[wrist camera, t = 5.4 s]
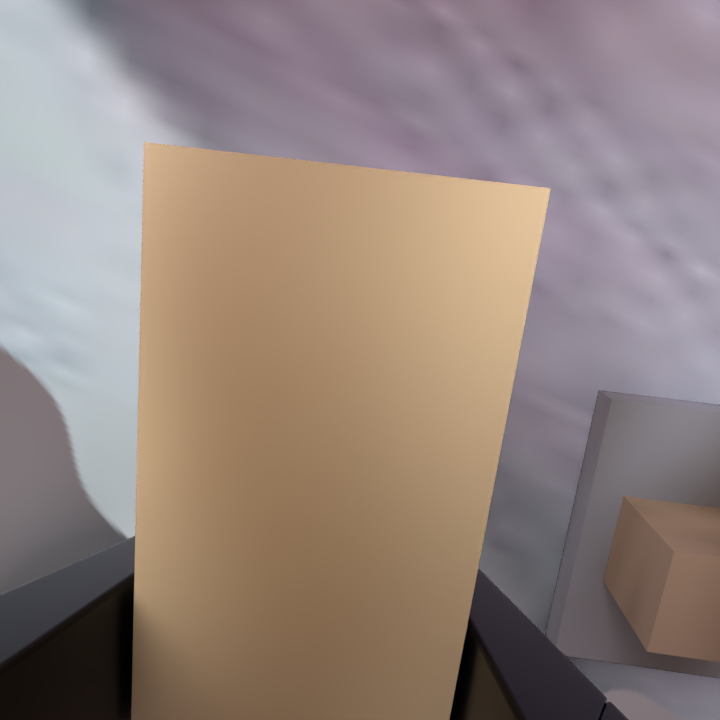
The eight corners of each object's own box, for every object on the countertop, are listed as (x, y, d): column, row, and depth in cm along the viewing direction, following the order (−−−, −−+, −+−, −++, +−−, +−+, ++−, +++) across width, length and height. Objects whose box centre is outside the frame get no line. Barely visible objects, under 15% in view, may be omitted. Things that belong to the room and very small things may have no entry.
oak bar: (482, 214, 9) (550, 188, 5) (391, 768, 11) (389, 1038, 8) (254, 187, 9) (144, 141, 5) (216, 739, 12) (125, 987, 8)
